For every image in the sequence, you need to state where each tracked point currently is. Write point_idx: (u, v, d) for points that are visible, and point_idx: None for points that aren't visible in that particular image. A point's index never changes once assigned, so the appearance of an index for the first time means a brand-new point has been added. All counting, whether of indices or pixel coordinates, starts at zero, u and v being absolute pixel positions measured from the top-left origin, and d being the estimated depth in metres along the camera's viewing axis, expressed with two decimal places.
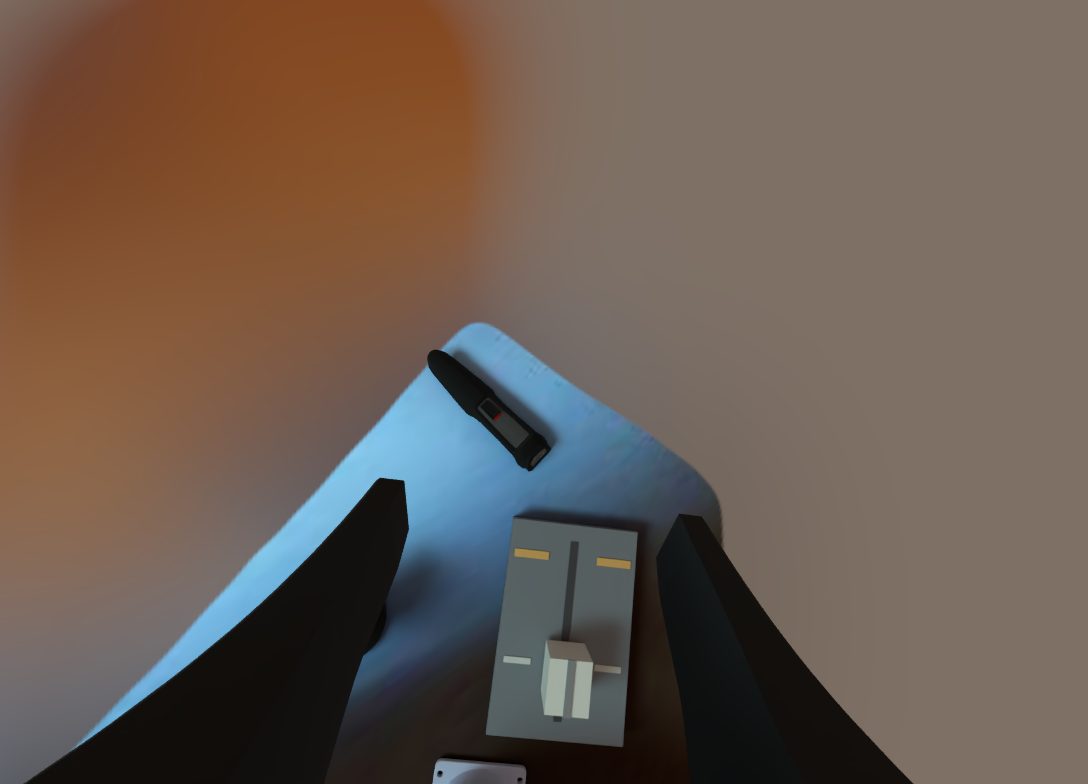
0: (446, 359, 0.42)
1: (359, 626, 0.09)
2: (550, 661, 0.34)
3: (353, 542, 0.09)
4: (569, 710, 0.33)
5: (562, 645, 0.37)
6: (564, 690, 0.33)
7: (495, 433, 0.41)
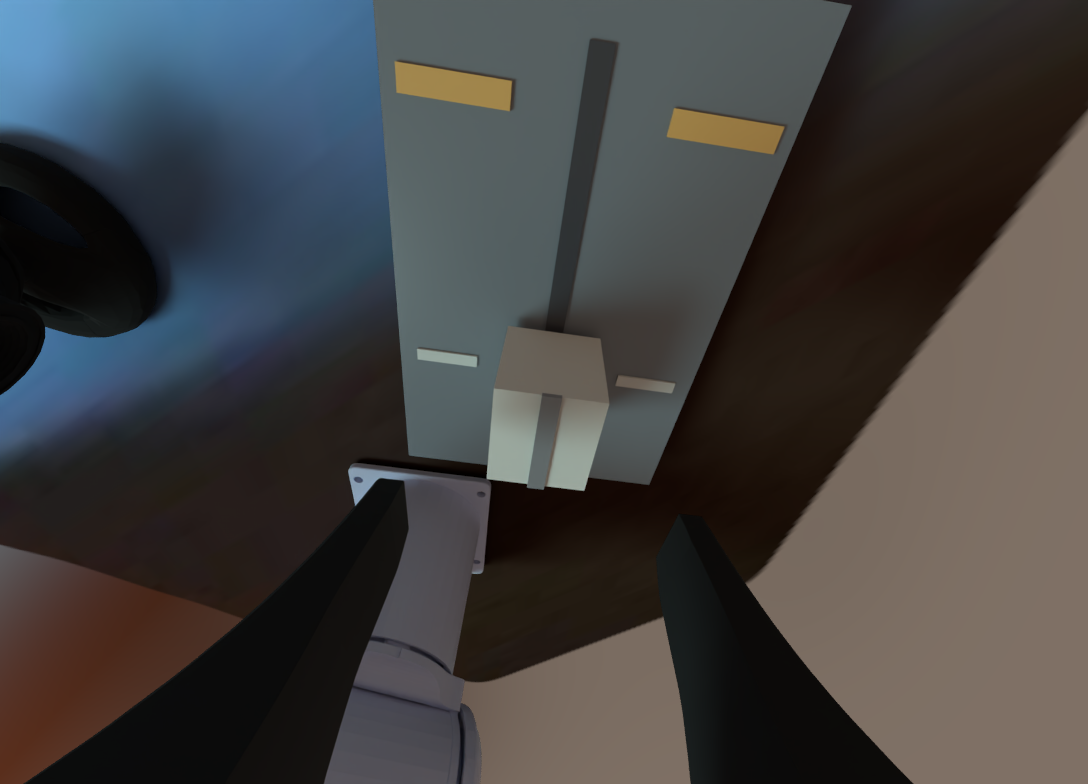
0: None
1: (359, 626, 0.09)
2: (495, 393, 0.13)
3: (353, 542, 0.09)
4: (542, 478, 0.15)
5: (543, 344, 0.15)
6: (530, 446, 0.14)
7: None
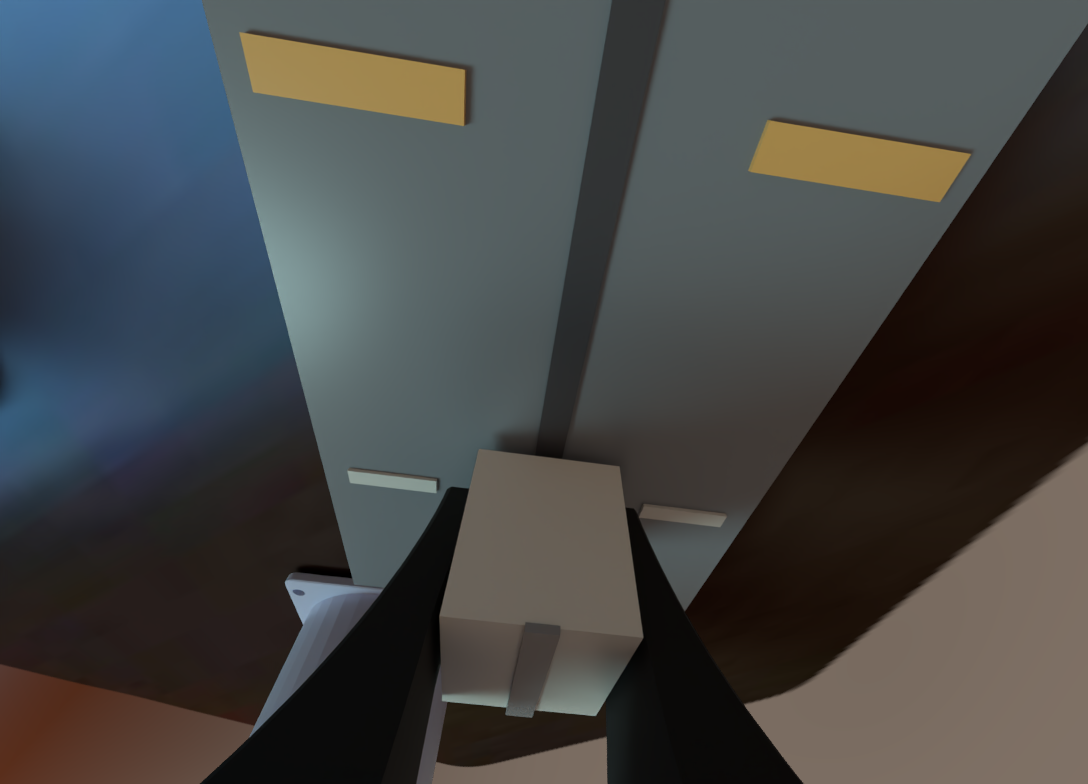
0: None
1: None
2: None
3: (441, 552, 0.09)
4: (529, 708, 0.09)
5: (532, 486, 0.10)
6: (509, 675, 0.08)
7: None
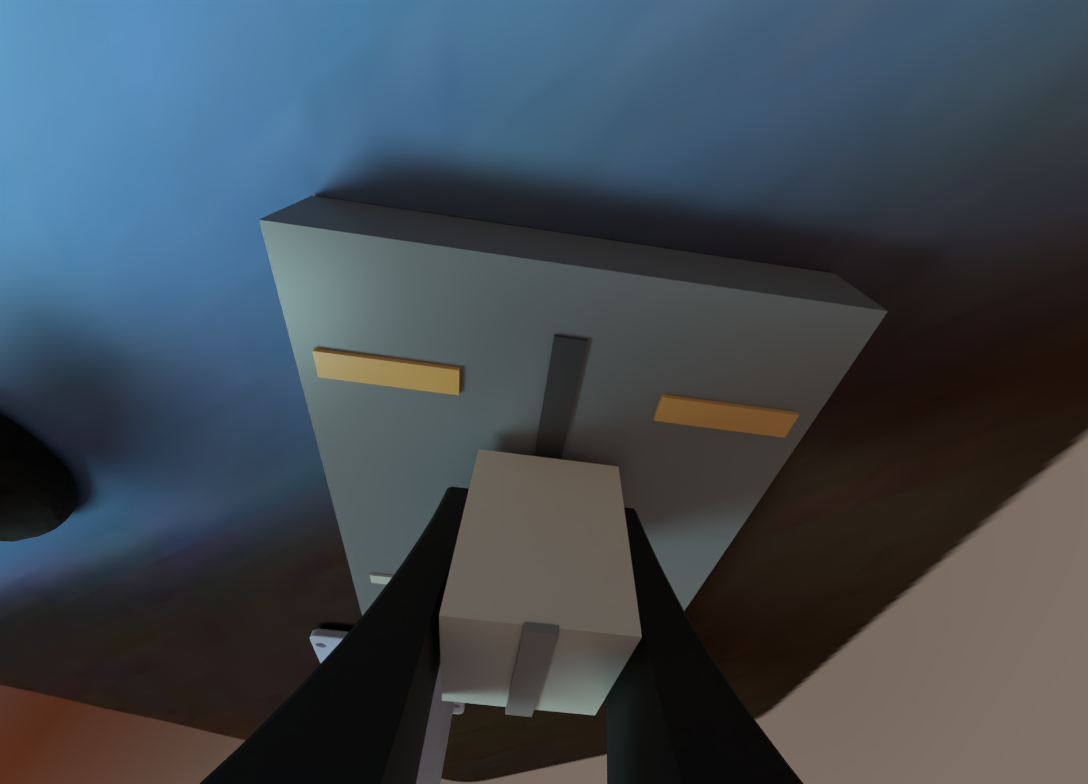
0: None
1: None
2: None
3: (440, 552, 0.09)
4: (529, 707, 0.09)
5: (531, 486, 0.10)
6: (508, 674, 0.08)
7: None
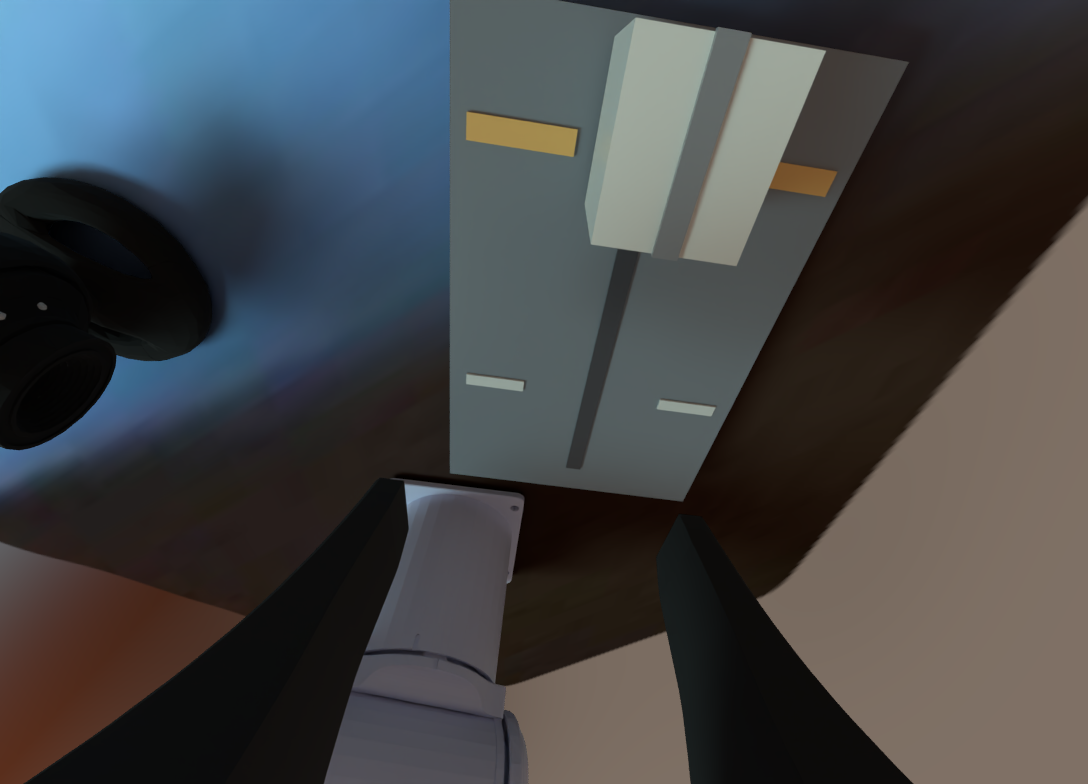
0: None
1: (359, 626, 0.09)
2: (634, 37, 0.08)
3: (353, 542, 0.09)
4: (679, 235, 0.09)
5: None
6: (672, 166, 0.09)
7: None
